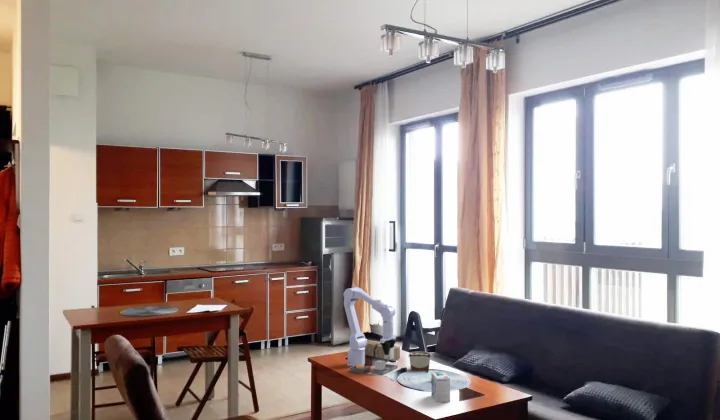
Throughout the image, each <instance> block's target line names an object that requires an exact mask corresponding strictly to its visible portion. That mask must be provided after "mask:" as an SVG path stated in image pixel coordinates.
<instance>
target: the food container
mask: <svg viewBox="0 0 720 420" xmlns="http://www.w3.org/2000/svg"><path fill="white" fill-rule="evenodd" d="M408 358H409V362H410V363H409V365H410V371H421V372H423V371H424V372H426V371H429V372H430V363H431V362H430V361H431V358H432V355H431V353H430V352H427V351H418V350H417V351H411V352H409V353H408Z"/></svg>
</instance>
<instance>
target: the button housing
mask: <svg viewBox="0 0 720 420" xmlns="http://www.w3.org/2000/svg"><path fill="white" fill-rule="evenodd" d="M349 372H350V373H357V374H363V375H364V374H367V373H369V372H371V365H370V366H368V365H364V368H363V369H359V368H356V365H355V366H350V368H349Z"/></svg>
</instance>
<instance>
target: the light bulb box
mask: <svg viewBox="0 0 720 420" xmlns="http://www.w3.org/2000/svg"><path fill="white" fill-rule="evenodd" d="M430 373H431V377H430V378H431V380H430V381H431V391H430V392H431V393H430V395H431V396H432V398H433V400H434V402H435V403H449V402H451V377H450V376H449V375H448V374H447V373H446V372H444V371H443V372H442V371H441V372H430Z"/></svg>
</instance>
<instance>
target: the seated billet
mask: <svg viewBox="0 0 720 420" xmlns="http://www.w3.org/2000/svg"><path fill="white" fill-rule="evenodd" d="M374 363H375V364H374V367H375V368H374V369H375V371H381V372H383V371H385V364H386V360H383V359H378V360H376V361H374Z"/></svg>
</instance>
